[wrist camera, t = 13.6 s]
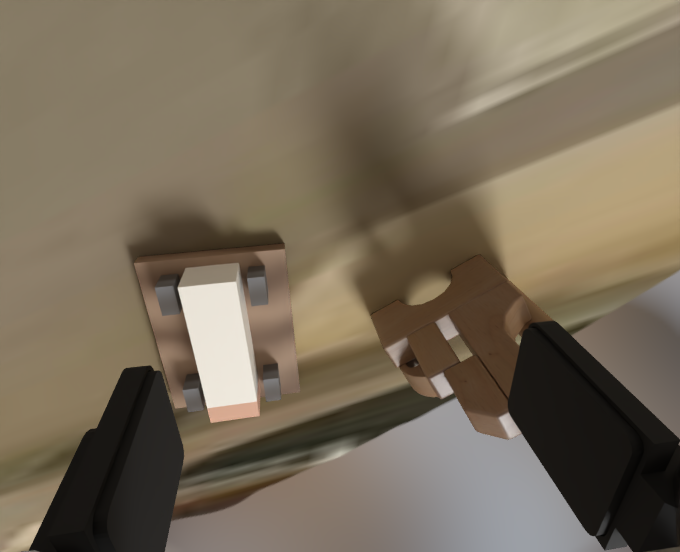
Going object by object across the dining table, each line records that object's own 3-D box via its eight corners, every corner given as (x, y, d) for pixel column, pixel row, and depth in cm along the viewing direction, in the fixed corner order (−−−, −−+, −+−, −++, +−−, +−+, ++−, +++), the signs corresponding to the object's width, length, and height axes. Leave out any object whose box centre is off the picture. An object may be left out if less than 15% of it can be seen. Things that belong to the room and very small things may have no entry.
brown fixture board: (138, 256, 41) (125, 275, 37) (284, 243, 42) (285, 259, 39) (177, 399, 49) (170, 425, 46) (299, 383, 51) (301, 407, 47)
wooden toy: (394, 354, 51) (491, 578, 29) (369, 314, 48) (455, 531, 26) (511, 290, 49) (709, 475, 27) (493, 245, 46) (698, 412, 24)
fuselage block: (185, 267, 41) (177, 287, 37) (238, 262, 41) (236, 281, 38) (215, 396, 48) (210, 422, 44) (260, 390, 48) (259, 415, 45)
